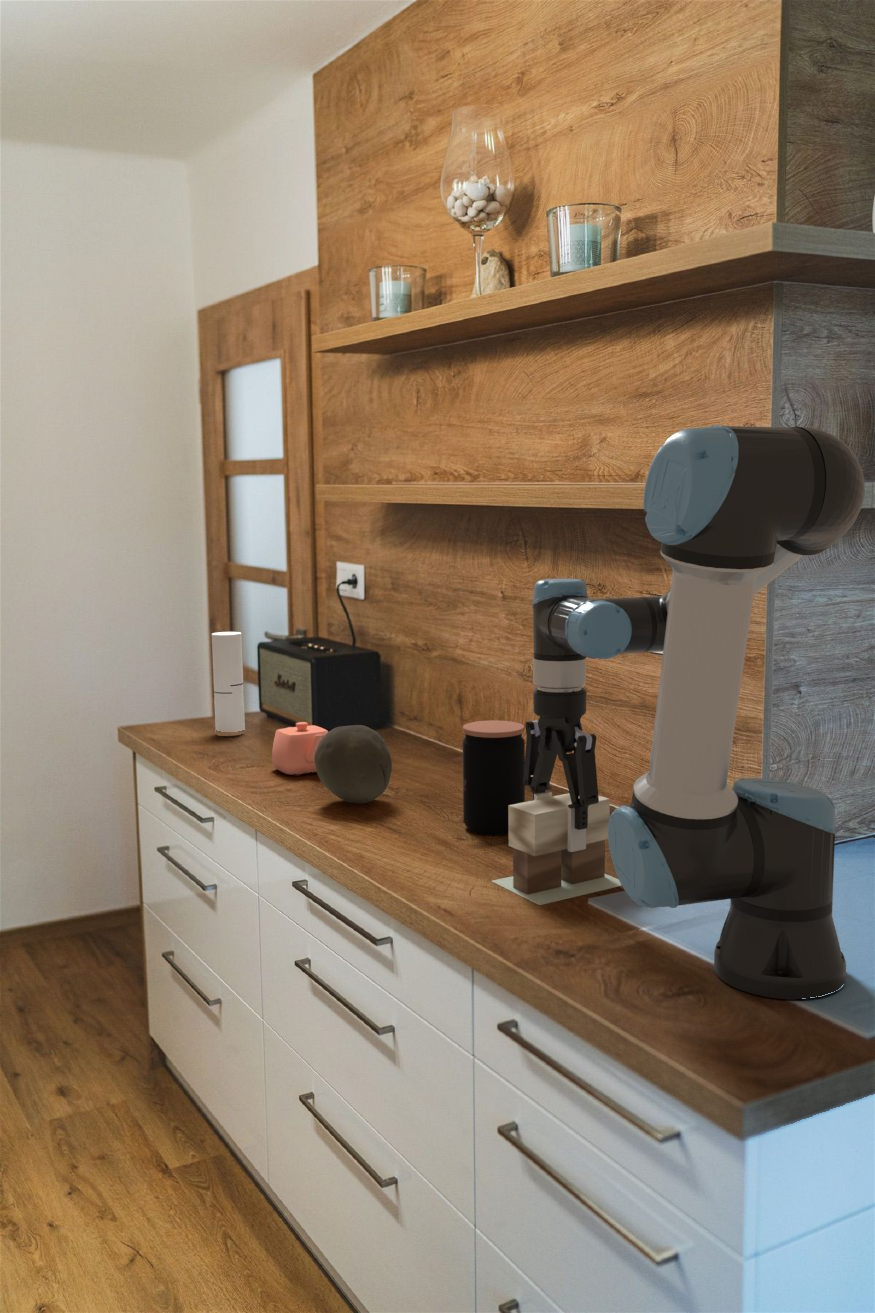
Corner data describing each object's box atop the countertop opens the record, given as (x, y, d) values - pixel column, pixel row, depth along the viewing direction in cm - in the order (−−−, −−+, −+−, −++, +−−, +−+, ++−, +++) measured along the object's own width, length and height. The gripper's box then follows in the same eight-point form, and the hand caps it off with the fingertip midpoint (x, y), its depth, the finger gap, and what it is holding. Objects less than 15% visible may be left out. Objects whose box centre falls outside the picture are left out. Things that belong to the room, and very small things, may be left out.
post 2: (604, 877, 170) (604, 837, 169) (572, 884, 167) (572, 844, 166) (589, 870, 173) (590, 832, 172) (557, 877, 170) (557, 838, 169)
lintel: (609, 838, 168) (609, 798, 167) (534, 856, 160) (534, 814, 160) (582, 829, 173) (582, 790, 172) (508, 845, 165) (508, 805, 165)
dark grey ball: (379, 791, 226) (377, 716, 224) (401, 808, 213) (400, 729, 211) (309, 798, 221) (306, 721, 219) (327, 816, 208) (325, 735, 206)
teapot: (312, 760, 254) (310, 713, 252) (347, 776, 238) (346, 727, 237) (263, 766, 248) (261, 719, 247) (296, 784, 233) (295, 733, 231)
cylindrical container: (249, 734, 282) (246, 633, 278) (222, 738, 278) (218, 635, 275) (238, 730, 288) (234, 631, 284) (211, 733, 284) (207, 633, 281)
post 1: (561, 887, 166) (561, 846, 165) (527, 894, 162) (527, 853, 162) (546, 880, 169) (546, 840, 168) (513, 887, 165) (513, 847, 165)
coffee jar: (488, 815, 207) (487, 717, 205) (536, 825, 201) (536, 724, 198) (451, 829, 199) (449, 727, 197) (500, 840, 193) (500, 735, 190)
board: (628, 891, 167) (628, 883, 167) (539, 913, 159) (539, 905, 158) (577, 869, 177) (577, 862, 177) (491, 888, 169) (491, 880, 169)
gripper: (626, 694, 157) (625, 856, 160) (539, 676, 174) (539, 822, 177) (583, 700, 153) (582, 866, 156) (498, 680, 170) (498, 830, 173)
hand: (559, 842), depth 167 cm, fingers open, 7 cm apart
